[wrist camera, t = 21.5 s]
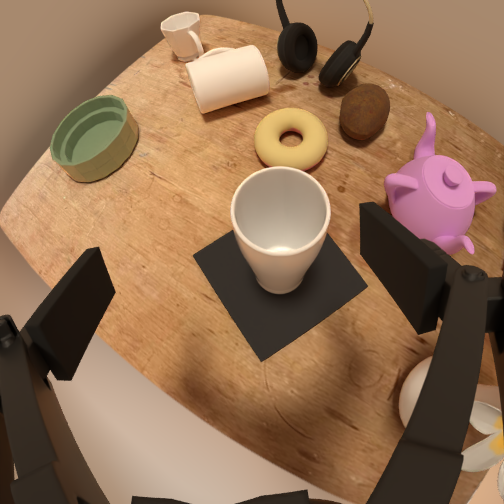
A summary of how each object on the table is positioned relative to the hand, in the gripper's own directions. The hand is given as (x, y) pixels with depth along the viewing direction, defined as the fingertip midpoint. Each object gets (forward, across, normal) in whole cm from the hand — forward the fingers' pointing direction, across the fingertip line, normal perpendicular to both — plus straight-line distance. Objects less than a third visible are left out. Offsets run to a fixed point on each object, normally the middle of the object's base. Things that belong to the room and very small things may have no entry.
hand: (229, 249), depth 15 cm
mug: (+38, 0, +10) cm, 39 cm away
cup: (+46, -4, +17) cm, 49 cm away
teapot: (+20, +23, -8) cm, 32 cm away
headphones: (+39, +15, +10) cm, 43 cm away
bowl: (+34, -20, +5) cm, 39 cm away
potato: (+31, +19, +2) cm, 36 cm away
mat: (+17, +3, -11) cm, 21 cm away
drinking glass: (+17, +3, -11) cm, 20 cm away
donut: (+29, +8, 0) cm, 30 cm away
